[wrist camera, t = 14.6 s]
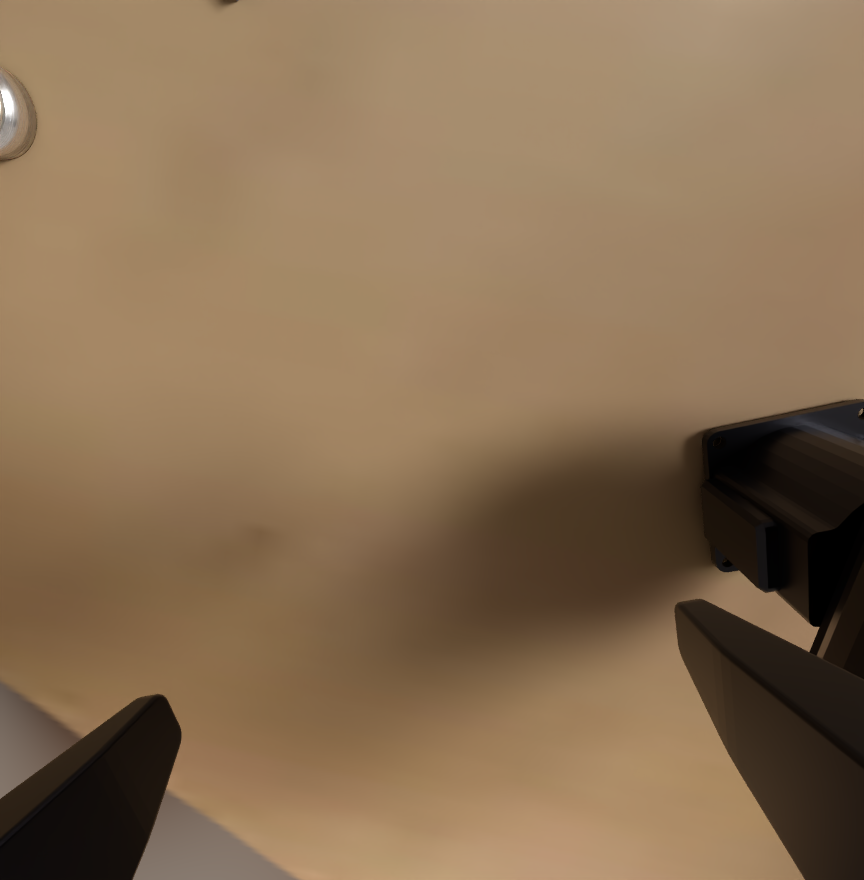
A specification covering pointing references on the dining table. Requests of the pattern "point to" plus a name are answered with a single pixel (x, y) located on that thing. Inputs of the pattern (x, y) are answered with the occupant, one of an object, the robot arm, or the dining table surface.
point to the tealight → (15, 117)
